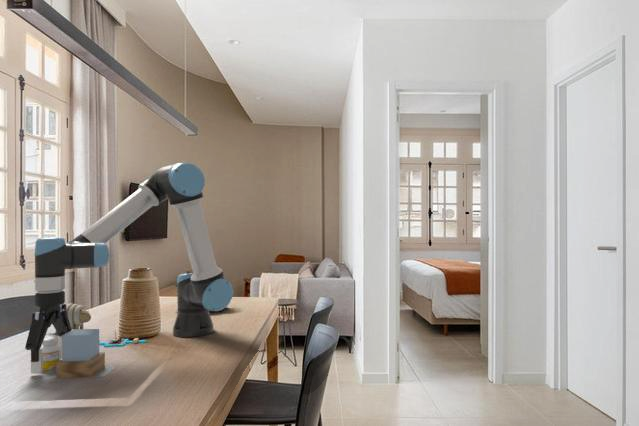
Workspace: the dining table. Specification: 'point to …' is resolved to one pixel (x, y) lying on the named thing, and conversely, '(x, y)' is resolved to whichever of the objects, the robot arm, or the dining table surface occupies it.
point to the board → (100, 373)
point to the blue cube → (80, 345)
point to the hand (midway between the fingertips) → (50, 365)
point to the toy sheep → (77, 315)
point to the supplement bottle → (51, 353)
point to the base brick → (81, 367)
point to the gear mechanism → (120, 341)
